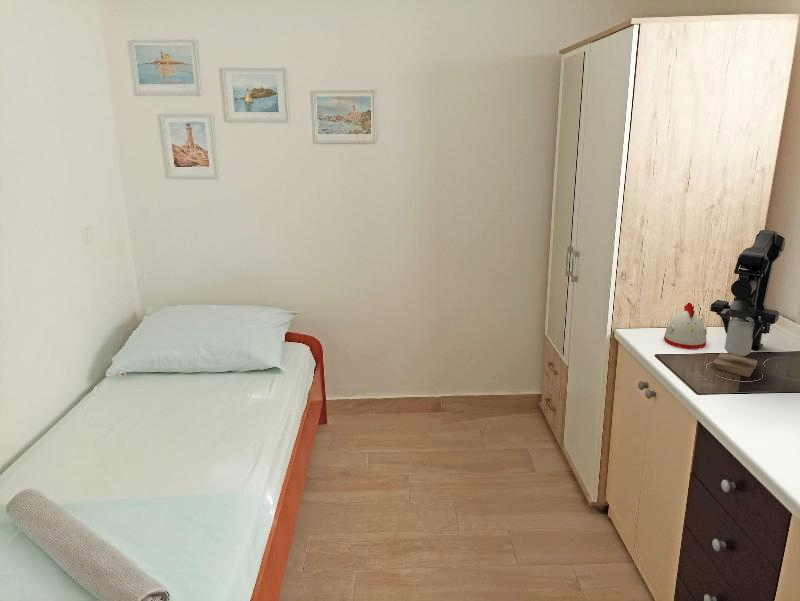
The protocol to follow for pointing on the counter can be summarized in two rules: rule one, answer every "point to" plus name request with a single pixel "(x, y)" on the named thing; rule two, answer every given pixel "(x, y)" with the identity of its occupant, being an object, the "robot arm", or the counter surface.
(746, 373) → the brown flat square block
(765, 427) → the counter surface
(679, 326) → the kitchen timer
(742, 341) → the can
